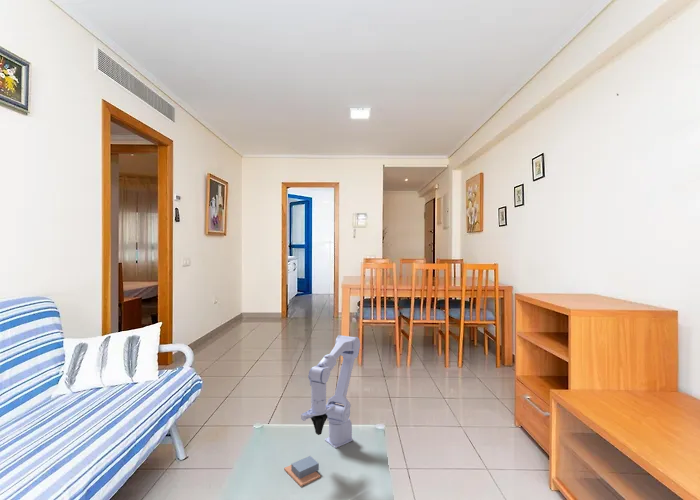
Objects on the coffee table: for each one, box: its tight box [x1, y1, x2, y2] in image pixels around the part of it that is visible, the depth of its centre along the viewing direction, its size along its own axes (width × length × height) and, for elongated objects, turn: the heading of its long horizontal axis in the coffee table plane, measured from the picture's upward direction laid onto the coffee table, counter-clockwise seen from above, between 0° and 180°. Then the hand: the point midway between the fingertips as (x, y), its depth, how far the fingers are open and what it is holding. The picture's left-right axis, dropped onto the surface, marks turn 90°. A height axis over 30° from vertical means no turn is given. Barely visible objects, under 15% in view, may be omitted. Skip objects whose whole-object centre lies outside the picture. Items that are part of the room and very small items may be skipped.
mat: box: [283, 464, 321, 487], centre depth 131 cm, size 8×12×1 cm, turn 38°
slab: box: [290, 455, 320, 479], centre depth 131 cm, size 2×6×8 cm
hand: (318, 433), depth 138 cm, fingers closed
